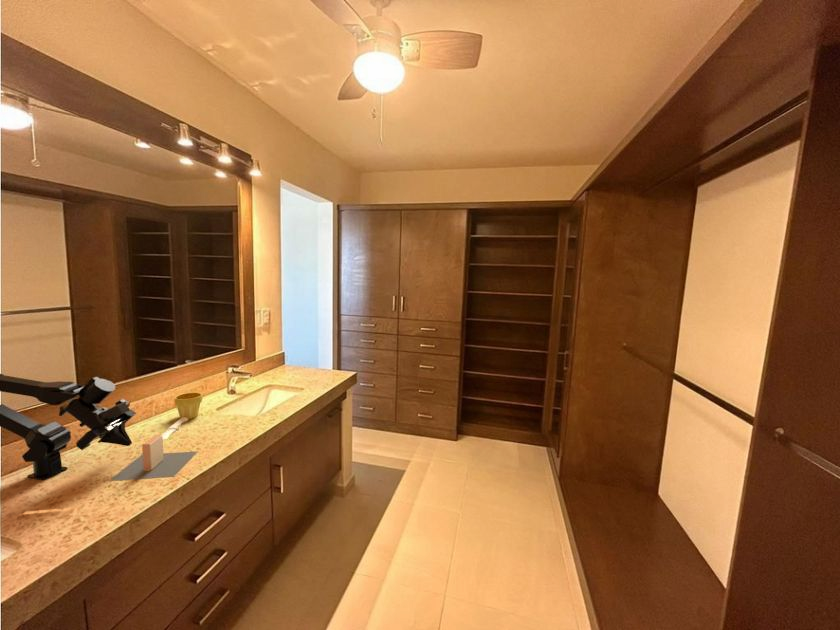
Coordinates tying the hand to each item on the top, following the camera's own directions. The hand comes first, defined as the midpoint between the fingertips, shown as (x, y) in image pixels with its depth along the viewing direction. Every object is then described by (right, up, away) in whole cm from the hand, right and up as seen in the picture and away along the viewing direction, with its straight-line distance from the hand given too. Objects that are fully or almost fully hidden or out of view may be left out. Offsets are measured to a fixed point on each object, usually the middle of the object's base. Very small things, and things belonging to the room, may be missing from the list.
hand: (130, 444), depth 111 cm
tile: (+6, -8, +2) cm, 10 cm away
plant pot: (-10, -4, +43) cm, 44 cm away
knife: (-4, -6, +25) cm, 26 cm away
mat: (+7, -8, +2) cm, 11 cm away
